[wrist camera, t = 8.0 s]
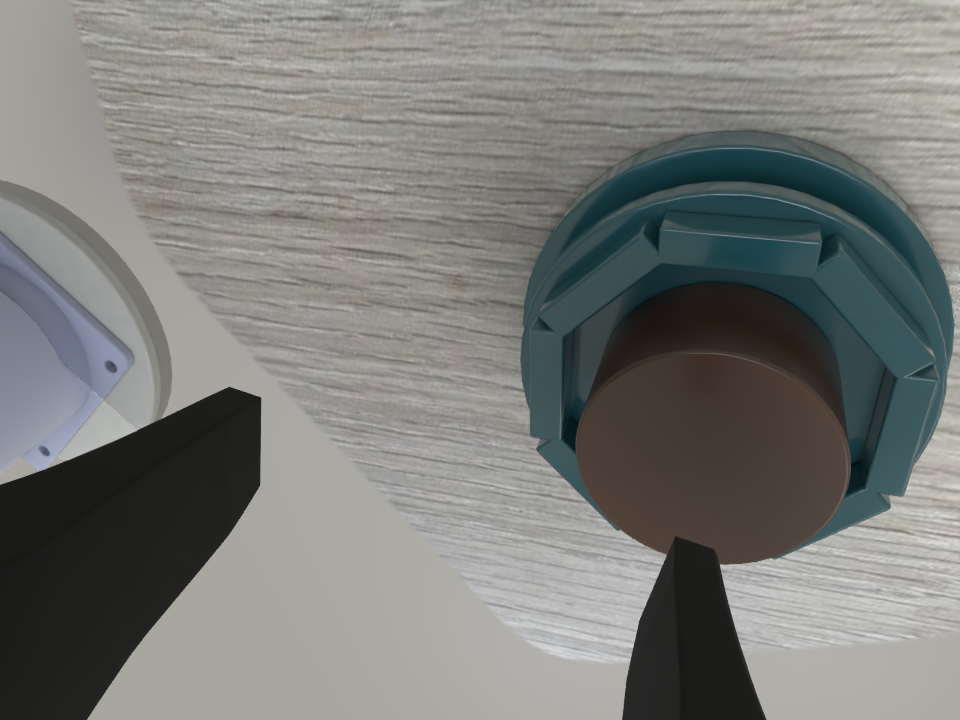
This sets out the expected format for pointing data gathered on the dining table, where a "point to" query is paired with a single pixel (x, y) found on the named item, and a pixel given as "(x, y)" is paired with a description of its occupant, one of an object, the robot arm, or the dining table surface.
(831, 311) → the stand
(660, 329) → the cylinder
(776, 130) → the dining table surface
